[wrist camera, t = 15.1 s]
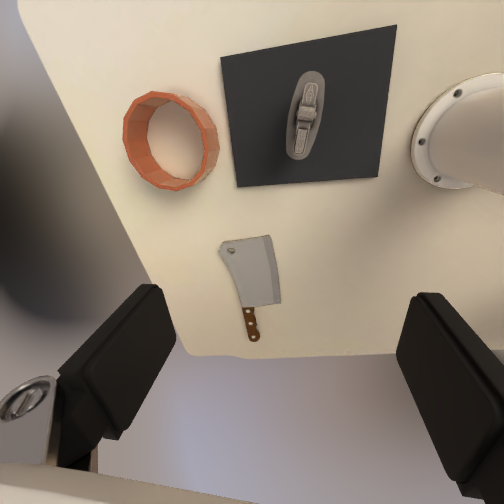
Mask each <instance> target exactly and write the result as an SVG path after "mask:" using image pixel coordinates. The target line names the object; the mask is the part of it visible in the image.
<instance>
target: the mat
mask: <svg viewBox="0 0 504 504" xmlns="http://www.w3.org/2000/svg"><path fill="white" fill-rule="evenodd" d="M396 30H397V25H392V26H386V27H381V28H375V29H370V30H365V31H359V32H354V33H349V34H343V35H338V36H332V37H327V38H322V39H316V40H311V41H306V42H300V43H295V44H289V45H284V46H279V47H273V48H268V49H262V50H257V51H252V52H246V53H241V54H236V55H230V56H225V57H220V59H221V66H222V74H223V81H224V89H225V97H226V104H227V112H228V119H229V127H230V134H231V142H232V149H233V157H234V164H235V172H236V179H237V187H248V186H261V185H275V184H288V183H301V182H315V181H328V180H342V179H355V178H369V177H378V170H379V162H380V155H381V147H382V139H383V131H384V123H385V116H386V108H387V100H388V92H389V84H390V77H391V69H392V61H393V53H394V46H395V38H396ZM308 71H316V72H319V73H320V74H321V75H322V76H323V78H324V81H325V91H324V104H323V110H322V116H321V122H320V125H319V128H318V132H317V135H316V138H315V141H314V143H313V146H312V148H311V150H310V153H309V154H308V156H307V157H305V158H304V159H301V160H295V159H292V158H291V157H290V156H289V155H288V154H287V151H286V131H287V122H288V115H289V111H290V106H291V102H292V98H293V95H294V92H295V89H296V86H297V84H298V81H299V79H300V77H301V76H302V75H303V74H304V73H306V72H308Z"/></svg>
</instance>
